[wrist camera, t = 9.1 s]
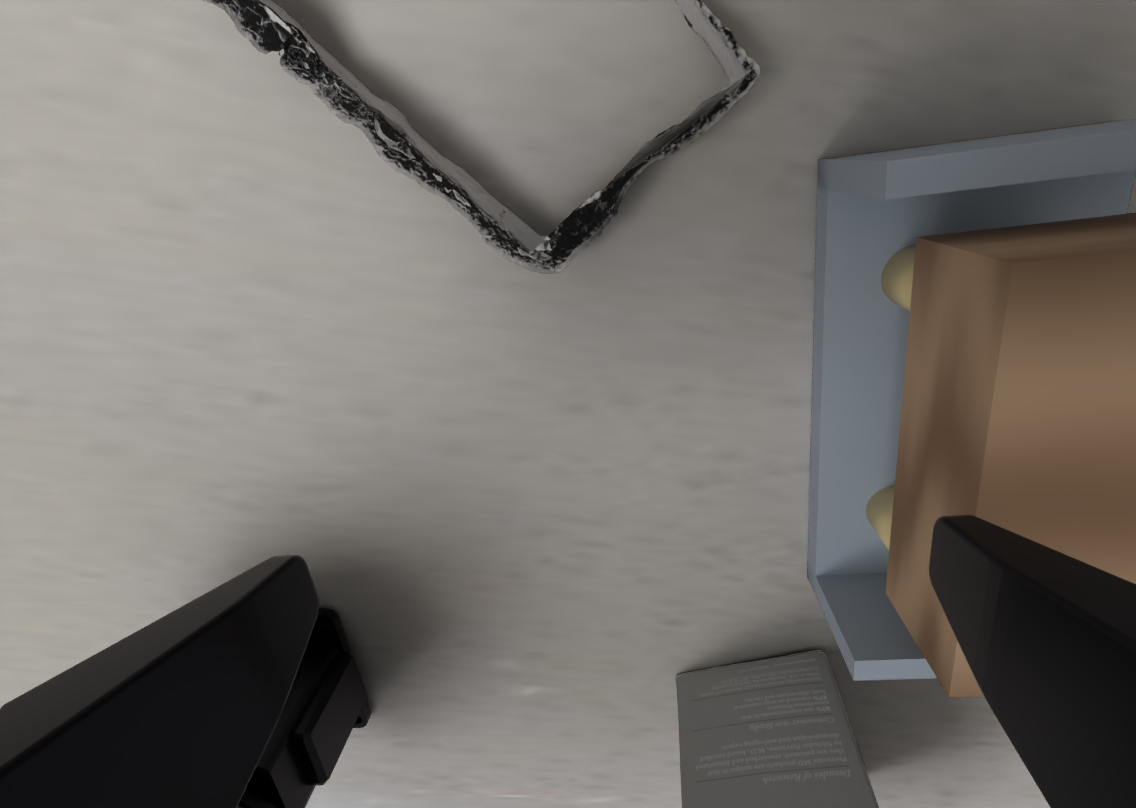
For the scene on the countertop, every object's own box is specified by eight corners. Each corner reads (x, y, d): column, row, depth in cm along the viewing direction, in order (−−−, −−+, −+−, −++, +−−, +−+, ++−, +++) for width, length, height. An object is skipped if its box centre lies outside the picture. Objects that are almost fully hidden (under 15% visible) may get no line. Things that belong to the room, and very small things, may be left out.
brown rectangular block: (1057, 585, 18) (1165, 692, 15) (885, 592, 19) (948, 697, 15) (1137, 212, 14) (1314, 231, 11) (916, 237, 15) (1012, 263, 11)
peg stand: (1031, 565, 22) (1139, 672, 18) (807, 576, 23) (853, 681, 19) (1117, 120, 17) (1305, 107, 12) (818, 159, 18) (887, 161, 13)
